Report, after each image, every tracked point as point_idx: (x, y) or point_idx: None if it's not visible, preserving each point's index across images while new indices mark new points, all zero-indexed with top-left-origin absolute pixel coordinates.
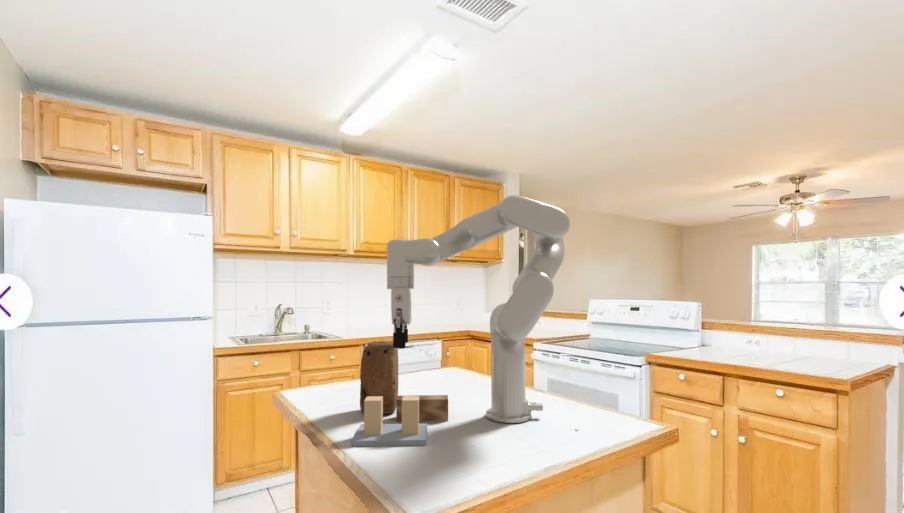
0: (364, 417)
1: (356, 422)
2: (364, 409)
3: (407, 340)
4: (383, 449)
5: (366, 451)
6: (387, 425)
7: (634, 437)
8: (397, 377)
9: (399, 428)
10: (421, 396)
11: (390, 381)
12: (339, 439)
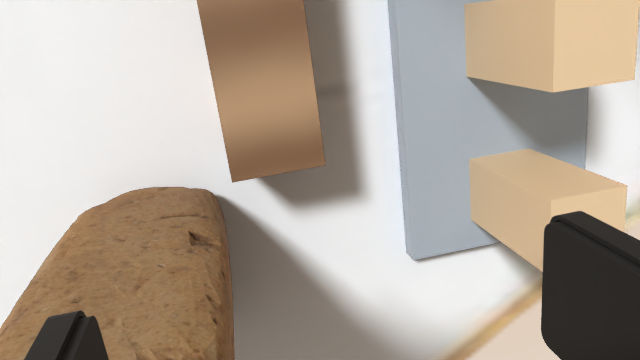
0: None
1: (330, 297)
2: None
3: (76, 325)
4: (603, 108)
5: (614, 158)
6: (426, 152)
7: None
8: (109, 247)
9: (462, 92)
10: (233, 31)
11: (224, 261)
12: (510, 281)
